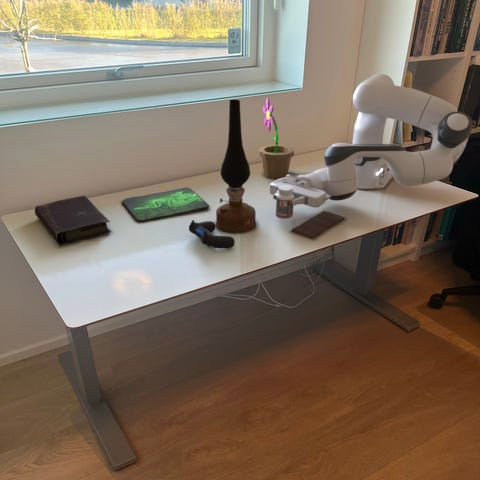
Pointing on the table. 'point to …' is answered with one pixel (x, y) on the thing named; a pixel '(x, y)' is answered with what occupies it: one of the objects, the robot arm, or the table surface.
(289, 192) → the pill bottle
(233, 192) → the oil lamp
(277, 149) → the flowerpot
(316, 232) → the walnut board
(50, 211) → the diary
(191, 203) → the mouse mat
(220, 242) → the gaming controller
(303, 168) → the table surface
